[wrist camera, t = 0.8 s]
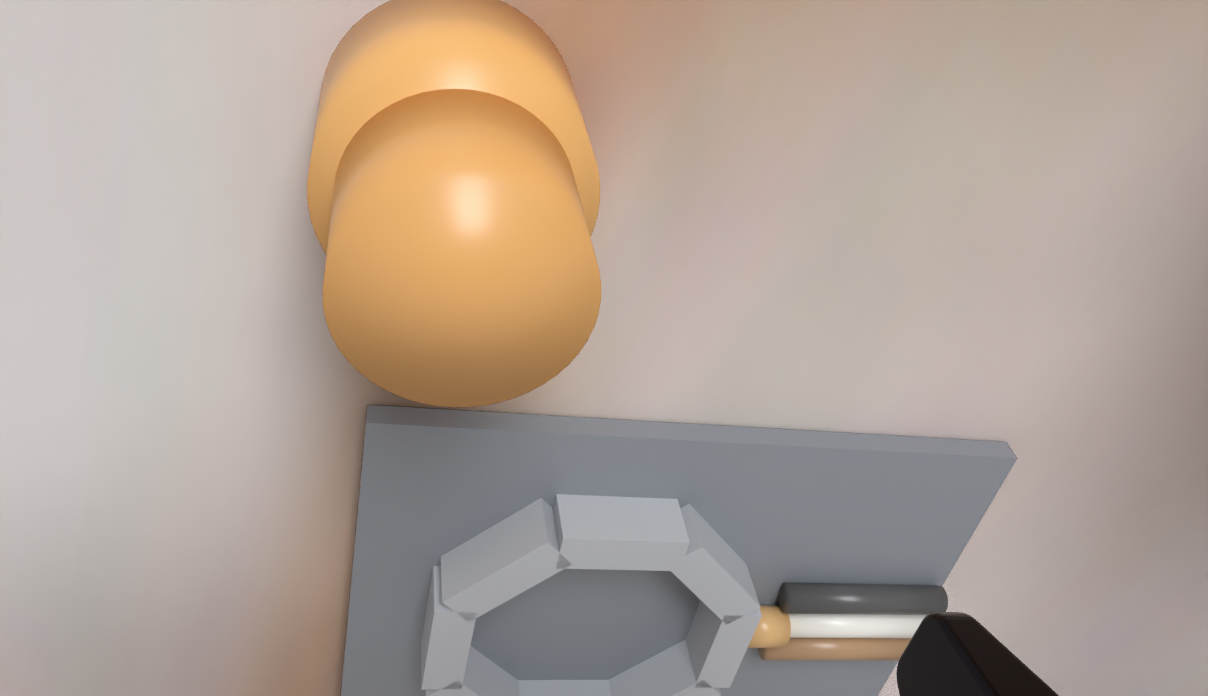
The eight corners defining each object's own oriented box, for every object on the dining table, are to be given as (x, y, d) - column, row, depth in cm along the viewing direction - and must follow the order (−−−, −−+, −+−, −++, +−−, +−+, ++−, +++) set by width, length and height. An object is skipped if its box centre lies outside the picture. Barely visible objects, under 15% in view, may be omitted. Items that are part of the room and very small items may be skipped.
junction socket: (1006, 442, 27) (1043, 498, 25) (848, 717, 33) (870, 775, 32) (367, 405, 23) (364, 468, 21) (337, 724, 30) (333, 790, 28)
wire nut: (596, 10, 18) (663, 172, 14) (551, 235, 21) (594, 435, 16) (326, -32, 17) (296, 129, 12) (315, 210, 20) (286, 418, 15)
